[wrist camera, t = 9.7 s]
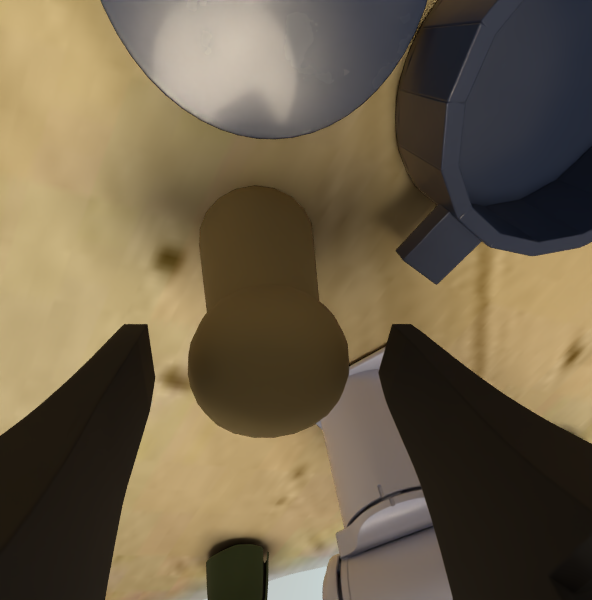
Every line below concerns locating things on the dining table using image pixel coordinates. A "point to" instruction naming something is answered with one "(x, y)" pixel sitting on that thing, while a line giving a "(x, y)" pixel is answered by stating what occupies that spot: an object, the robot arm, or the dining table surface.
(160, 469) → the dining table surface
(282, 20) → the lid
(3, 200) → the dining table surface
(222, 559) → the character mug
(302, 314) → the cork
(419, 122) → the pot
